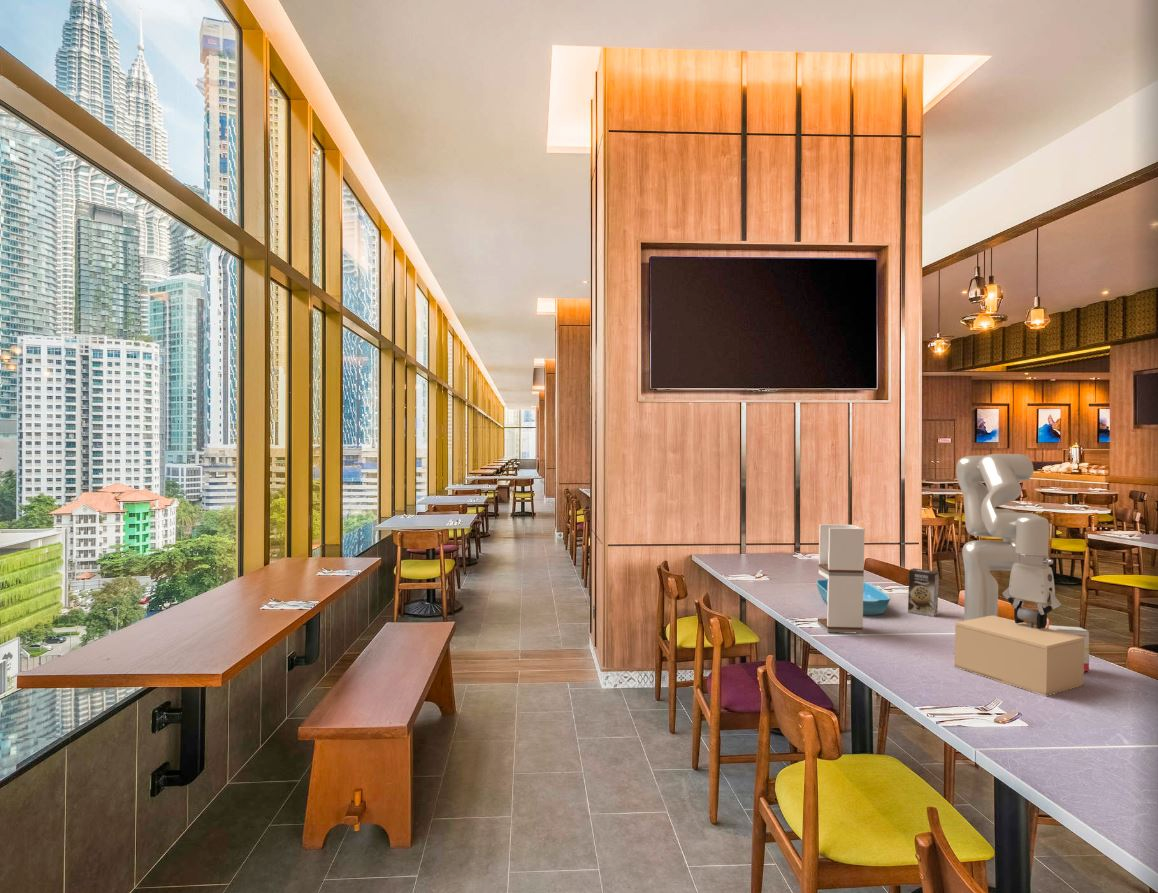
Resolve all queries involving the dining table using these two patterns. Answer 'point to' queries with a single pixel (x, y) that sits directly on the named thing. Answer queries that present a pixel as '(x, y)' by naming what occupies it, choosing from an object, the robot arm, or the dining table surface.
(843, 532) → the display case
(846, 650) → the dining table surface
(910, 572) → the dessert mix box
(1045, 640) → the carton lid
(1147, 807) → the dining table surface
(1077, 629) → the ink box
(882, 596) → the casserole dish
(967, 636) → the carton
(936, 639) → the dining table surface
